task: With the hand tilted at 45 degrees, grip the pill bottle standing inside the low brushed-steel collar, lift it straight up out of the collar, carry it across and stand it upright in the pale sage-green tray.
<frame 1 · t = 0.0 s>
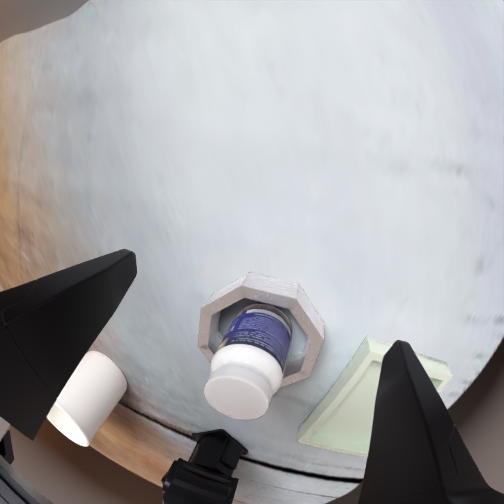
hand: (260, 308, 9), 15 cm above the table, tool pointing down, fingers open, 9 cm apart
candle holder: (106, 371, 36), on the table
sage tray: (370, 401, 27), on the table
pill bottle: (263, 326, 27), resting in steel collar
steel collar: (263, 327, 27), on the table
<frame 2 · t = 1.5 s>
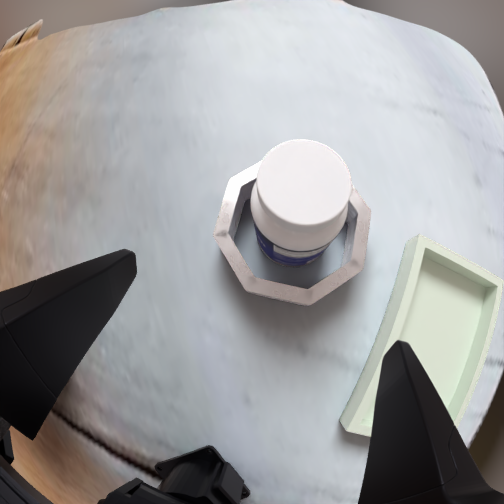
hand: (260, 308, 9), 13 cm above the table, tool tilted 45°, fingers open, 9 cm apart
sage tray: (428, 349, 20), on the table
pill bottle: (292, 234, 23), resting in steel collar
steel collar: (292, 233, 23), on the table
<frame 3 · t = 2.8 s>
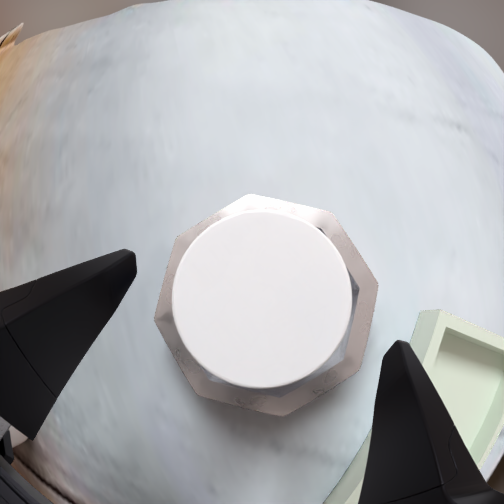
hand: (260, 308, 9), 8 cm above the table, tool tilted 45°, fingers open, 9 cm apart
candle holder: (7, 402, 16), on the table
sage tray: (432, 435, 14), on the table
pill bottle: (267, 306, 17), resting in steel collar
steel collar: (267, 306, 17), on the table
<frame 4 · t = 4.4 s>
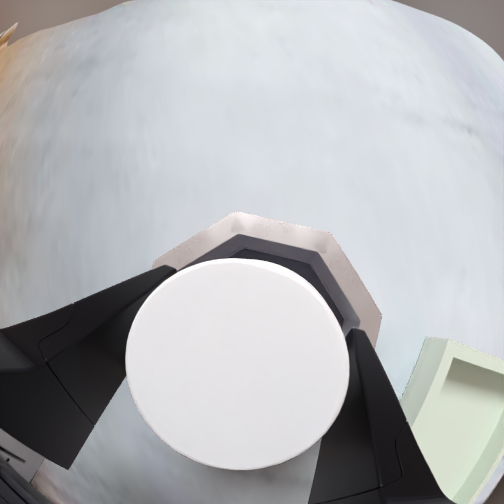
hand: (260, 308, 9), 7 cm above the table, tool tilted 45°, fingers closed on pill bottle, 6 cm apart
sage tray: (432, 462, 12), on the table
pill bottle: (257, 334, 15), resting in steel collar, touching gripper
steel collar: (257, 334, 15), on the table
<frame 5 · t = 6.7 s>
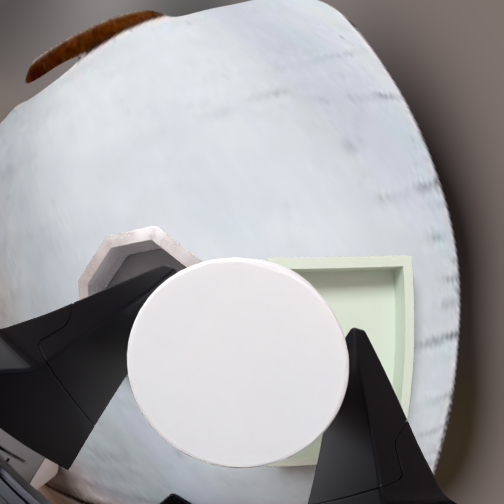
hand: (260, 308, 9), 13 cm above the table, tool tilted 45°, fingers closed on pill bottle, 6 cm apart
candle holder: (36, 448, 20), on the table
sage tray: (337, 362, 20), on the table
pill bottle: (256, 332, 15), point 6 cm above the table, touching gripper
steel collar: (151, 302, 22), on the table
when the fingers open (8 cm above the table, at t = 9.3 s): pill bottle drops 1 cm, resting on sage tray.
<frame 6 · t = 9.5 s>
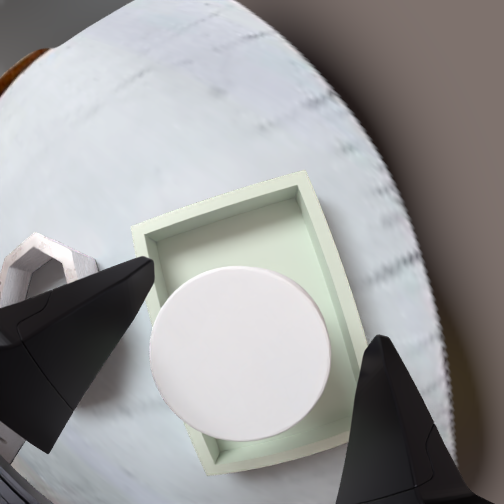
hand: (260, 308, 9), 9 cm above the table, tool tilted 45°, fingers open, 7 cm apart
sage tray: (258, 330, 17), on the table
pill bottle: (258, 335, 16), resting on sage tray
steel collar: (56, 313, 18), on the table
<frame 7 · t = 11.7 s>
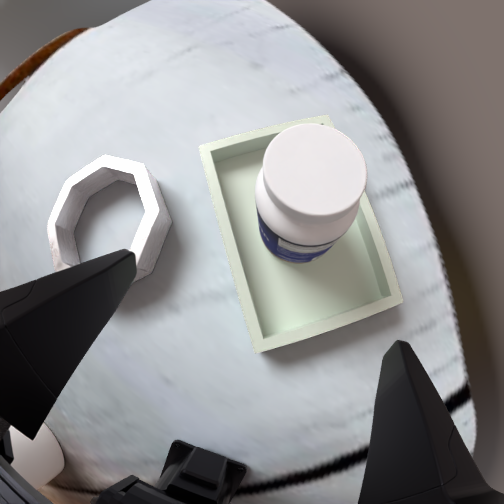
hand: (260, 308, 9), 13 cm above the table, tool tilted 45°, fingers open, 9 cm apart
candle holder: (40, 442, 19), on the table
sage tray: (295, 227, 22), on the table
pill bottle: (296, 229, 21), resting on sage tray
steel collar: (112, 228, 23), on the table
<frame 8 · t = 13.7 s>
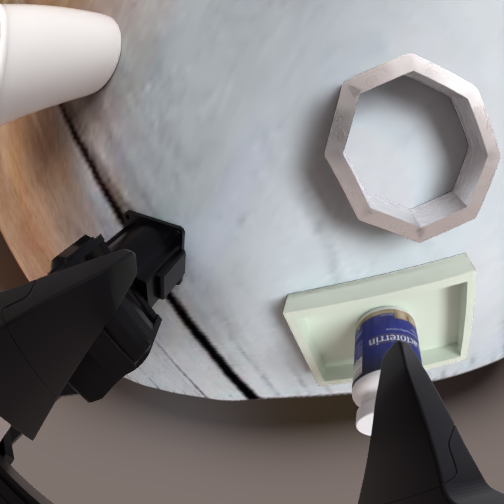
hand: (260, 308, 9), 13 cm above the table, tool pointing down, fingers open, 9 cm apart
candle holder: (91, 54, 17), on the table
sage tray: (387, 322, 23), on the table
pill bottle: (384, 325, 23), resting on sage tray
steel collar: (409, 143, 15), on the table
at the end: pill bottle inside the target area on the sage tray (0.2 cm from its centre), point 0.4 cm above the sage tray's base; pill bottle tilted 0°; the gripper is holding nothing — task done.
